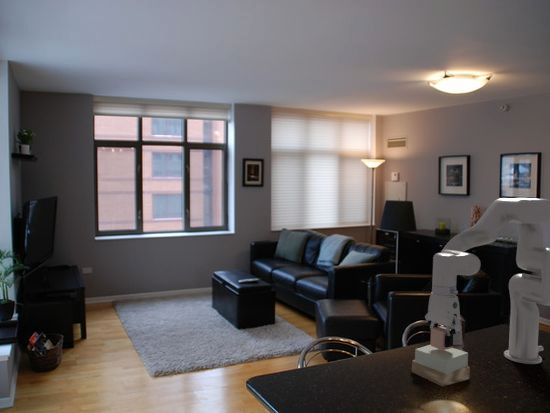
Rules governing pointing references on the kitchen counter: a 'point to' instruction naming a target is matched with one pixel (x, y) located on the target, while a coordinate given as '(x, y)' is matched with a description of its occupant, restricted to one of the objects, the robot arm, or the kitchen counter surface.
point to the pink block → (438, 338)
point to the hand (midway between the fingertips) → (441, 343)
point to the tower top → (441, 358)
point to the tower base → (440, 374)
